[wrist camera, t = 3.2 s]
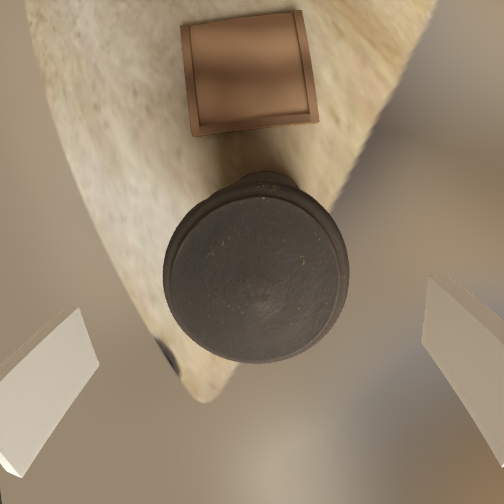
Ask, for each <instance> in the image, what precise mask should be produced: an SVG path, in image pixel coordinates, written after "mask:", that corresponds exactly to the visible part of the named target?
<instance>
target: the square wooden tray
mask: <svg viewBox="0 0 504 504" xmlns="http://www.w3.org/2000/svg"><path fill="white" fill-rule="evenodd" d="M180 27H181V39H182V50H183V60H184V70H185V80H186V90H187V99H188V108H189V116H190V125H191V133H192V136H193V137H200V136H206V135H213V134H219V133H226V132H234V131H241V130H249V129H258V128H267V127H277V126H288V125H300V124H314V123H318V122H319V114H318V107H317V99H316V92H315V85H314V78H313V71H312V65H311V59H310V53H309V47H308V41H307V35H306V30H305V25H304V19H303V14H302V10H295V11H293V13H283V14H269V15H259V16H250V17H241V18H234V19H227V20H221V21H215V22H209V23H204V24H198V25H193V26H189V25H188V24H187V25H182V26H180Z"/></svg>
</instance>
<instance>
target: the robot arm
mask: <svg viewBox="0 0 504 504" xmlns="http://www.w3.org/2000/svg"><path fill="white" fill-rule="evenodd" d="M421 343H422V344H423V346H424V347H425V349H426V350H427V351H428V353H429V354H430V356H431V357H432V358H433V360H434V361H435V363H436V364H437V366H438V367H439V369H440V370H441V371H442V373H443V374H444V376H445V377H446V379H447V380H448V382H449V383H450V385H451V386H452V387H453V389H454V391H455V392H456V394H457V395H458V397H459V398H460V400H461V401H462V403H463V404H464V406H465V407H466V409H467V410H468V412H469V414H470V415H471V417H472V418H473V420H474V422H475V423H476V425H477V427H478V428H479V430H480V431H481V433H482V435H483V436H484V438H485V440H486V441H487V443H488V445H489V446H490V448H491V450H492V452H493V453H494V455H495V457H496V458H497V460H498V462H499V464H500V465H501V467H504V321H503V320H502V319H501V318H500V317H499V316H498V315H496V314H495V313H494V312H492V311H491V310H490V309H489V308H488V307H487V306H485V305H484V304H483V303H482V302H481V301H479V300H478V299H477V298H476V297H474V296H473V295H472V294H471V293H469V292H468V291H467V290H465V289H464V288H463V287H462V286H461V285H459V284H458V283H457V282H455V281H454V280H453V279H451V278H450V277H449V276H447V275H446V274H442V275H436V276H429V277H428V286H427V297H426V306H425V315H424V324H423V330H422V337H421ZM98 366H99V362H98V360H97V357H96V355H95V352H94V349H93V347H92V344H91V341H90V338H89V336H88V333H87V330H86V327H85V324H84V321H83V319H82V315H81V312H80V309H79V307H69V308H68V307H66V308H64V309H63V310H61V311H60V312H59V313H58V314H57V315H56V316H54V317H53V318H52V319H51V320H50V321H48V322H47V323H46V324H45V325H44V326H43V327H42V328H40V329H39V330H38V331H37V332H36V333H35V334H34V335H32V336H31V337H30V338H29V339H28V340H27V341H26V342H25V343H23V344H22V345H21V347H19V348H18V349H17V350H16V351H15V352H14V353H12V354H11V355H10V356H9V357H8V358H7V359H6V360H5V361H4V362H3V363H2V364H1V365H0V463H1V465H2V466H3V467H4V468H5V470H6V471H8V472H9V473H12V474H14V475H16V476H18V477H20V478H22V477H23V476H24V474H25V473H26V471H27V469H28V468H29V466H30V465H31V463H32V462H33V460H34V459H35V457H36V456H37V454H38V452H39V451H40V450H41V448H42V447H43V445H44V443H45V442H46V440H47V439H48V438H49V436H50V435H51V433H52V432H53V430H54V429H55V427H56V426H57V424H58V423H59V421H60V420H61V418H62V417H63V416H64V414H65V413H66V411H67V410H68V408H69V407H70V405H71V404H72V403H73V401H74V400H75V398H76V397H77V396H78V394H79V393H80V391H81V390H82V388H83V387H84V386H85V384H86V383H87V381H88V380H89V379H90V377H91V376H92V375H93V373H94V372H95V370H96V369H97V368H98ZM0 504H2V501H1V494H0Z"/></svg>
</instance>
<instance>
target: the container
mask: <svg viewBox="0 0 504 504" xmlns="http://www.w3.org/2000/svg"><path fill="white" fill-rule="evenodd" d="M348 286H349V261H348V256H347V250H346V246H345V243H344V240H343V238H342V235H341V233H340V231H339V229H338V227H337V225H336V223H335V222H334V220H333V219H332V217H331V216H330V214H329V213H328V212H327V211H326V210H325V209H324V207H323V206H322V205H320V204H319V203H318V202H317V201H316V200H315V199H314V198H313V197H311V196H310V195H308V194H307V193H305V192H304V191H302V190H300V189H299V188H298V186H297V185H296V184H295V183H294V182H293V181H291V180H290V179H289V178H287V177H286V176H284V175H282V174H279V173H276V172H270V171H261V172H255V173H252V174H249V175H247V176H245V177H243V178H242V179H240V180H239V181H238V182H236V183H235V184H234V185H231V186H228V187H225V188H223V189H221V190H219V191H217V192H215V193H214V194H212V195H211V196H210V197H209V198H208V199H206V200H203V201H202V202H200V203H199V204H197V205H196V206H195V207H193V208H192V209H191V210H190V211H189V212H188V213H187V214H186V216H185V217H184V218H183V219H182V221H181V222H180V224H179V225H178V227H177V228H176V230H175V232H174V233H173V235H172V237H171V240H170V242H169V245H168V247H167V250H166V254H165V259H164V265H163V287H164V293H165V297H166V300H167V303H168V306H169V308H170V311H171V313H172V315H173V317H174V319H175V320H176V322H177V323H178V325H179V326H180V327H181V329H182V330H183V331H184V332H185V333H186V334H187V335H188V336H189V337H190V338H191V339H192V340H193V341H194V342H196V343H197V344H198V345H200V346H201V347H202V348H204V349H206V350H207V351H209V352H211V353H213V354H215V355H217V356H220V357H222V358H225V359H228V360H232V361H236V362H242V363H251V364H262V363H272V362H277V361H282V360H285V359H288V358H291V357H294V356H296V355H298V354H301V353H303V352H304V351H306V350H308V349H309V348H311V347H312V346H314V345H315V344H316V343H318V341H320V340H321V339H322V338H323V337H324V336H325V335H326V334H327V333H328V332H329V331H330V329H331V328H332V327H333V325H334V324H335V322H336V321H337V319H338V317H339V315H340V313H341V311H342V309H343V307H344V304H345V301H346V297H347V292H348Z"/></svg>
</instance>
